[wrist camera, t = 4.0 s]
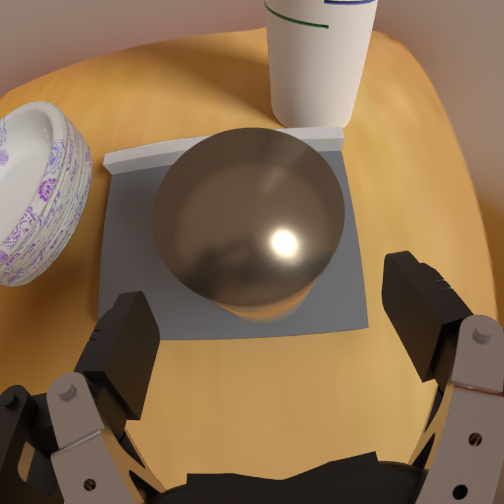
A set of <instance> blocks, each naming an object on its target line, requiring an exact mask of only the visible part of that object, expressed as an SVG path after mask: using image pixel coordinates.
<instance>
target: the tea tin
mask: <svg viewBox="0 0 504 504" xmlns="http://www.w3.org/2000/svg"><path fill="white" fill-rule="evenodd" d="M344 220H345V205H344V198H343V193H342V190H341V187H340V184H339V181H338V179H337V177H336V175H335V173H334V171H333V170H332V168H331V167H330V166H329V164H328V163H327V161H326V160H325V159H324V158H323V157H322V156H321V155H320V154H319V153H318V152H317V151H316V150H315V149H313V148H312V147H311V146H310V145H308V144H306V143H305V142H303V141H302V140H300V139H298V138H296V137H294V136H292V135H289V134H286V133H283V132H280V131H276V130H272V129H265V128H240V129H233V130H228V131H224V132H221V133H218V134H215V135H213V136H210V137H208V138H206V139H204V140H202V141H200V142H199V143H197V144H195V145H194V146H192V147H191V148H190V149H188V150H187V151H186V152H185V153H183V154H182V155H181V156H180V157H179V158H178V159H177V160H176V161H175V163H174V164H173V165H172V166H171V167H170V169H169V170H168V172H167V173H166V175H165V176H164V178H163V180H162V182H161V184H160V186H159V188H158V191H157V194H156V197H155V201H154V206H153V214H152V227H153V235H154V239H155V243H156V246H157V249H158V251H159V254H160V256H161V258H162V260H163V261H164V263H165V265H166V266H167V268H168V269H169V270H170V271H171V273H172V274H173V275H174V276H175V277H176V278H177V279H178V280H179V281H180V282H181V283H182V284H183V285H185V286H186V287H188V288H189V289H191V290H192V291H193V292H195V293H197V294H198V295H200V296H202V297H204V298H206V299H208V300H210V301H212V302H214V303H216V304H218V305H219V306H221V307H223V308H224V309H226V310H228V311H229V312H231V313H232V314H234V315H236V316H237V317H239V318H241V319H243V320H245V321H248V322H251V323H256V324H270V323H275V322H278V321H281V320H283V319H285V318H287V317H289V316H290V315H292V314H293V313H294V312H295V311H296V310H297V309H298V308H299V307H300V306H301V305H302V303H303V301H304V300H305V298H306V296H307V295H308V293H309V292H310V290H311V288H312V287H313V285H314V283H315V282H316V280H317V278H318V277H319V276H321V275H322V274H323V273H324V271H325V270H326V268H327V266H328V265H329V263H330V262H331V258H332V257H333V255H334V253H335V251H336V249H337V247H338V245H339V242H340V240H341V236H342V232H343V228H344Z"/></svg>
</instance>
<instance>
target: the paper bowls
mask: <svg viewBox="0 0 504 504" xmlns="http://www.w3.org/2000/svg"><path fill="white" fill-rule="evenodd" d="M91 179H92V156H91V151H90V148H89V146H88V144H87V142H86V141H85V139H84V137H83V136H82V135H81V134H80V132H79V131H78V130H77V128H76V127H75V126H74V125H73V124H72V123H71V121H70V120H69V119H68V118H67V117H66V116H65V115H64V114H63V112H62V111H61V110H60V109H59V108H58V107H57V106H56V105H54V104H52V103H49V102H44V101H36V102H31V103H28V104H25V105H23V106H20V107H18V108H17V109H15V110H13V111H11V112H10V113H9V114H7V115H6V116H4V117H3V118H2V119H1V120H0V284H1V285H5V286H11V287H17V286H21V285H25V284H27V283H29V282H30V281H32V280H33V279H35V278H36V277H37V276H39V275H40V274H42V273H43V272H44V271H45V270H46V269H47V268H48V267H49V266H50V265H51V264H52V262H53V261H54V260H56V258H57V257H58V256H59V254H60V253H61V252H62V250H63V248H64V247H65V246H66V244H67V243H68V241H69V239H70V238H71V236H72V234H73V233H74V231H75V228H76V226H77V224H78V222H79V220H80V217H81V215H82V212H83V209H84V207H85V204H86V200H87V199H88V196H87V195H88V193H89V189H90V184H91Z"/></svg>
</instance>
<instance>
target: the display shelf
mask: <svg viewBox="0 0 504 504" xmlns="http://www.w3.org/2000/svg"><path fill="white" fill-rule="evenodd" d="M272 130H276V131H280V132H283V133H286V134H289V135H292V136H294V137H296V138H298V139H300V140H302V141H303V142H305V143H306V144H308V145H310V146H311V147H312V148H313V149H315V150H316V151H317V152H318V153H319V154H320V155H321V156H322V157H323V158H324V159H325V160H326V161H327V163H328V164H329V166H330V167H331V168H332V170H333V171H334V173H335V175H336V177H337V179H338V181H339V184H340V187H341V190H342V193H343V198H344V205H345V220H344V228H343V232H342V236H341V240H340V242H339V245H338V247H337V249H336V251H335V253H334V255H333V257H332V258H331V262H330V263H329V265H328V266H327V268H326V270H325V271H324V273H323V274H322V275H321V276H319V277H318V278H317V280H316V282H315V283H314V285H313V287H312V288H311V290H310V292H309V293H308V295H307V296H306V298H305V300H304V301H303V303H302V305H301V306H300V307H299V308H298V309H297V310H296V311H295V312H294V313H293V314H292V315H290V316H289V317H287V318H285V319H283V320H281V321H278V322H275V323H270V324H256V323H251V322H248V321H245V320H243V319H241V318H239V317H237V316H236V315H234V314H232V313H231V312H229V311H228V310H226V309H224V308H223V307H221V306H219V305H218V304H216V303H214V302H212V301H210V300H208V299H206V298H204V297H202V296H200V295H198V294H197V293H195V292H193V291H192V290H191V289H189V288H188V287H186V286H185V285H183V284H182V283H181V282H180V281H179V280H178V279H177V278H176V277H175V276H174V275H173V274H172V273H171V271H170V270H169V269H168V268H167V266H166V265H165V263H164V261H163V260H162V258H161V256H160V254H159V251H158V249H157V246H156V243H155V239H154V235H153V227H152V214H153V206H154V201H155V197H156V194H157V191H158V188H159V186H160V184H161V182H162V180H163V178H164V176H165V175H166V173H167V172H168V170H169V169H170V167H171V166H172V165H173V164H174V163H175V161H176V160H177V159H178V158H179V157H180V156H181V155H182V154H183V153H185V152H186V151H187V150H188V149H190V148H191V147H192V146H194V145H195V144H197V143H199V142H200V141H202V140H204V139H206V138H208V137H210V136H213V135H209V136H201V137H194V138H187V139H178V140H171V141H165V142H159V143H154V144H148V145H143V146H140V147H135V148H130V149H125V150H120V151H116V152H111V153H107V154H105V158H104V162H103V166H104V167H105V168H106V169H107V170H108V171H109V172H110V173H111V174H112V177H111V183H110V189H109V195H108V202H107V209H106V216H105V224H104V233H103V242H102V253H101V265H100V280H99V301H98V320H99V319H100V318H101V317H102V316H103V315H104V314H105V313H106V312H107V311H108V310H109V309H112V307H113V305H114V303H115V301H116V299H117V297H118V296H119V294H121V293H127V292H135V291H142V292H143V293H144V295H145V297H146V299H147V301H148V304H149V306H150V308H151V311H152V313H153V315H154V318H155V320H156V322H157V325H158V328H159V332H160V340H216V339H246V338H266V337H282V336H296V335H308V334H319V333H330V332H339V331H349V330H357V329H363V328H369V327H368V316H367V305H366V295H365V286H364V278H363V270H362V262H361V255H360V248H359V242H358V235H357V229H356V223H355V217H354V211H353V206H352V200H351V195H350V190H349V185H348V180H347V175H346V170H345V166H344V161H343V157H342V152H341V150H342V146H343V142H344V139H345V138H344V134H343V130H342V127H308V128H286V129H272Z"/></svg>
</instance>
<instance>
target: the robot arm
mask: <svg viewBox="0 0 504 504" xmlns="http://www.w3.org/2000/svg"><path fill="white" fill-rule="evenodd" d="M382 303H383V307H384V310H385V312H386V314H387V315H388V317H389V319H390V321H391V323H392V324H393V326H394V328H395V330H396V332H397V334H398V336H399V337H400V339H401V341H402V343H403V345H404V347H405V349H406V351H407V353H408V355H409V357H410V359H411V361H412V363H413V365H414V366H415V368H416V371H417V373H418V375H419V377H420V379H421V381H422V383H423V382H426V381H429V380H432V379H435V380H436V382H437V384H438V385H437V387H436V389H435V393H434V396H433V400H432V403H431V406H430V410H429V413H428V416H427V419H426V422H425V425H424V428H423V431H422V434H421V436H420V439H419V441H418V444H417V446H416V448H415V450H414V452H413V454H412V456H411V458H410V460H409V462H408V464H405V463H400V462H394V461H378V459H377V455H376V452H375V451H374V452H370V453H366V454H362V455H358V456H354V457H350V458H345V459H341V460H336V461H331V462H328V463H326V464H323V465H321V466H319V467H316V468H314V469H311V470H309V471H306V472H303V473H301V474H298V475H296V476H293V477H290V478H287V479H284V480H274V479H266V478H258V477H252V476H245V475H239V474H234V473H223V474H189V473H187V482H186V484H184V485H180V486H177V487H174V488H171V489H169V490H167V489H166V488H165V487H164V486H163V485H162V483H161V482H160V481H159V480H158V479H157V478H156V477H155V475H154V474H153V473H152V471H151V470H150V468H149V467H148V465H147V463H146V462H145V460H144V458H143V457H142V455H141V453H140V452H139V450H138V448H137V446H136V445H135V443H134V441H133V439H132V438H131V436H130V434H129V432H128V431H127V429H126V428H125V425H126V421H127V420H140V418H141V414H142V410H143V406H144V401H145V397H146V393H147V389H148V385H149V381H150V377H151V373H152V369H153V366H154V362H155V358H156V354H157V351H158V347H159V343H160V332H159V328H158V325H157V322H156V320H155V318H154V315H153V313H152V311H151V308H150V306H149V304H148V301H147V299H146V297H145V295H144V293H143V292H142V291H135V292H127V293H121V294H119V296H118V297H117V299H116V301H115V303H114V305H113V307H112V309H109V310H108V311H107V312H106V313H105V314H104V315H103V316H102V317H101V318H100V319H99V320H98V322H97V324H96V326H95V328H94V332H92V334H91V336H90V338H89V341H88V342H87V344H86V346H85V348H84V350H83V352H82V354H81V357H80V359H79V361H78V363H77V365H76V367H75V369H74V372H69V373H65V374H63V375H61V376H59V377H58V378H57V379H55V380H54V381H53V383H52V384H51V385H50V387H49V389H48V391H47V393H43V394H39V395H34V396H31V395H30V394H29V393H28V391H27V390H26V389H25V388H24V387H23V386H21V385H14V386H11V387H9V388H8V389H6V390H5V391H4V392H3V393H2V394H1V396H0V504H64V501H65V503H66V504H492V502H493V499H494V496H495V492H496V488H497V484H498V481H499V476H500V472H501V468H502V463H503V458H504V329H502V327H501V325H500V324H499V323H498V322H497V321H495V320H494V319H492V318H490V317H488V316H484V315H474V314H473V313H472V312H471V310H470V309H469V308H468V307H467V305H466V304H465V303H464V302H463V301H462V299H461V298H460V297H459V296H458V295H457V293H456V292H455V291H454V290H453V289H451V286H450V285H449V284H448V283H447V282H446V281H444V278H443V277H442V276H441V275H440V274H439V273H438V272H437V270H436V269H434V268H432V267H430V266H429V265H427V264H425V263H419V262H418V261H417V259H416V258H415V257H414V256H413V255H412V254H411V253H410V252H409V251H402V252H396V253H390V254H387V255H386V256H385V259H384V272H383V284H382Z"/></svg>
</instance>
